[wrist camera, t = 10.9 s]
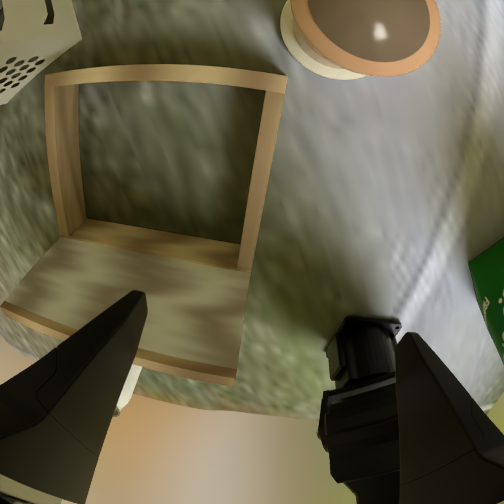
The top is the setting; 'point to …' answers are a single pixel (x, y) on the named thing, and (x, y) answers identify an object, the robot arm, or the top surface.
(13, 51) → the grater
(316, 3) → the pot
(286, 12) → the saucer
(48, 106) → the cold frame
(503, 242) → the milk carton
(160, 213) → the top surface
